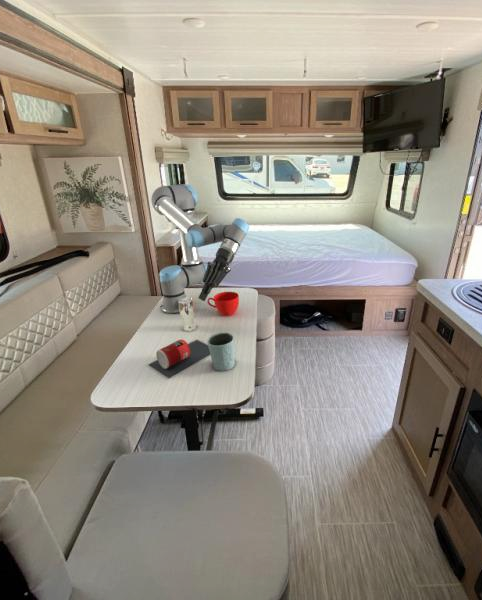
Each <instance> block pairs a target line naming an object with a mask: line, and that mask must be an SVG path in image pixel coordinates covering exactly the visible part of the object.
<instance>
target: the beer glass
mask: <svg viewBox="0 0 482 600" xmlns="http://www.w3.org/2000/svg"><path fill="white" fill-rule="evenodd" d="M178 302H179V311H180V312H179V314H180V317H181V320H182V323H183V327H182V328H183V330H184V331H185V332H190V331H194V330H195V329H196V328H197V325H196V322H195V304H194V301H193V298H192V297H187V298H182V299H180V300H179V301H178Z"/></svg>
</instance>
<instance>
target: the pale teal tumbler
mask: <svg viewBox="0 0 482 600" xmlns="http://www.w3.org/2000/svg"><path fill="white" fill-rule="evenodd" d="M206 344H207V345H208V347H209V350H210V357H211V358H210V359H211V362H212V366H213V368H214V369H215V370H216V371H218V372H226V371H228V370H230V369H232V368H234V367H235V364H236V362H235V361H236V360H235V336H234V335H233V334H232V333H230V332H218V333H214V334H212V335H210V336H209V337H208V338H207V341H206Z"/></svg>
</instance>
